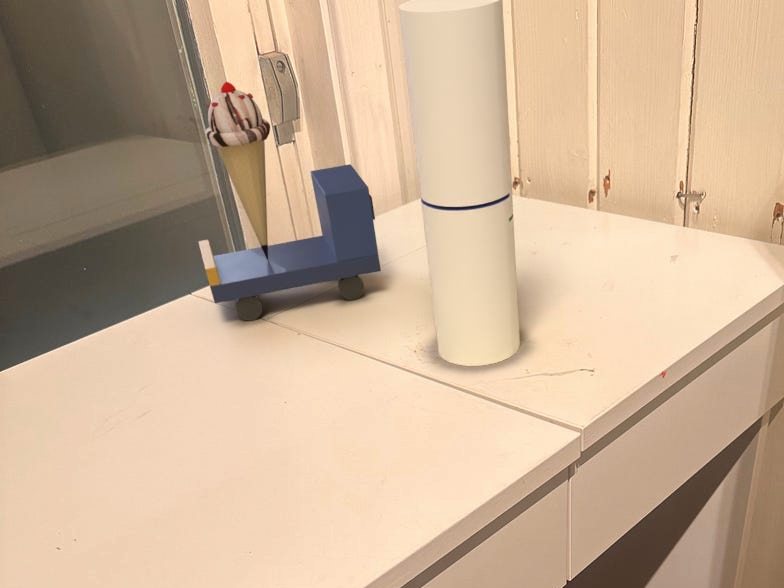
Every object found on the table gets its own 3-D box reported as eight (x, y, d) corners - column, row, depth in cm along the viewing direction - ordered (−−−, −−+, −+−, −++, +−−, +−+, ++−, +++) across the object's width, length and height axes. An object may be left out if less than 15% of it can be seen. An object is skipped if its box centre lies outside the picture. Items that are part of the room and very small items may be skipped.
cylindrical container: (421, 355, 79) (377, 10, 62) (469, 323, 83) (439, -9, 66) (489, 372, 76) (462, 13, 59) (535, 338, 80) (522, -8, 63)
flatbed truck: (221, 328, 87) (191, 218, 80) (214, 297, 92) (184, 192, 86) (387, 295, 89) (371, 186, 83) (369, 267, 95) (353, 163, 88)
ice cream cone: (307, 250, 89) (272, 73, 79) (280, 273, 85) (238, 90, 75) (256, 247, 91) (215, 73, 80) (227, 269, 87) (179, 90, 76)
